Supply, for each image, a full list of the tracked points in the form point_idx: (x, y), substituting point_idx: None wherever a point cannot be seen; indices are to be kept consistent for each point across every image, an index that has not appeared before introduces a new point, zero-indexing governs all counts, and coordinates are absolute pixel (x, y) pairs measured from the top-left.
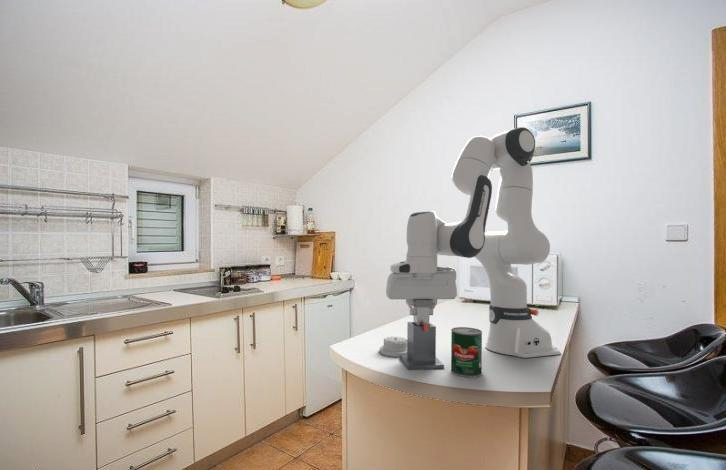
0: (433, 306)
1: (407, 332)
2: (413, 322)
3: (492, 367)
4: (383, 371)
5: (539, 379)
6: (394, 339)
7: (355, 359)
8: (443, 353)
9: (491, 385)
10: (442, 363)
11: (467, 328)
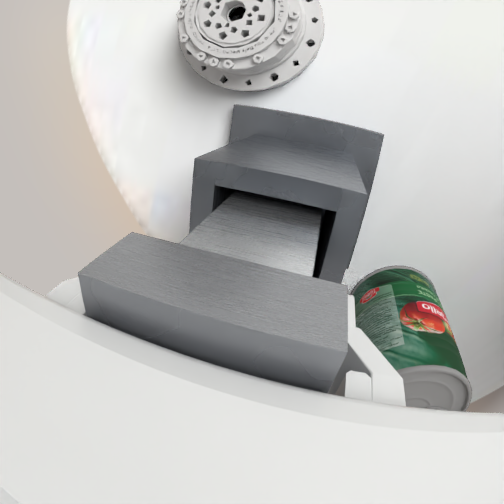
0: (333, 393)
1: (221, 148)
2: (224, 201)
3: (488, 299)
4: (147, 221)
5: (491, 381)
6: (223, 19)
7: (94, 97)
8: (455, 105)
9: None
10: (351, 254)
11: (460, 379)
